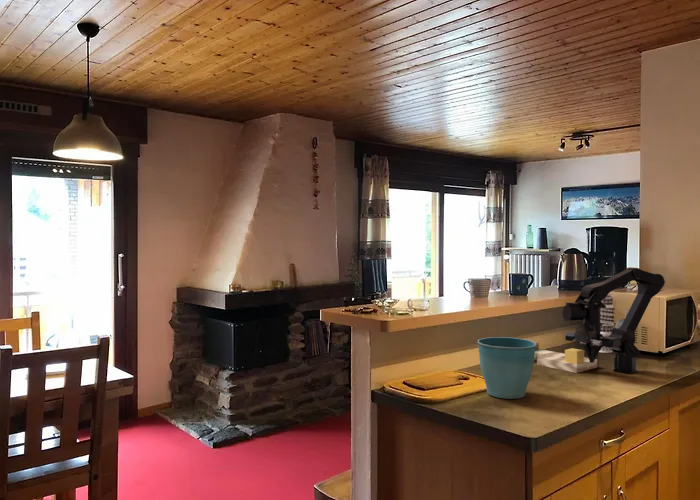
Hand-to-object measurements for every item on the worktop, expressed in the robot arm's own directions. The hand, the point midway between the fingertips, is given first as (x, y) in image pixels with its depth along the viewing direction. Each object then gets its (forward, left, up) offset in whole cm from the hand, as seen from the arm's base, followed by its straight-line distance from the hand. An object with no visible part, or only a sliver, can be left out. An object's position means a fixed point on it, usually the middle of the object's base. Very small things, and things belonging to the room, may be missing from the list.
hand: (591, 362), depth 206 cm
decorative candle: (+19, -41, -4) cm, 46 cm away
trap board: (+17, -4, -4) cm, 18 cm away
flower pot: (+2, +47, -4) cm, 47 cm away
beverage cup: (+8, -38, -4) cm, 40 cm away
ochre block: (+7, 0, -1) cm, 7 cm away
